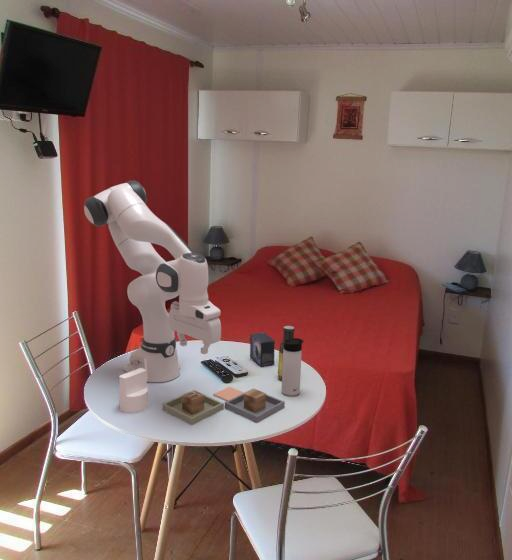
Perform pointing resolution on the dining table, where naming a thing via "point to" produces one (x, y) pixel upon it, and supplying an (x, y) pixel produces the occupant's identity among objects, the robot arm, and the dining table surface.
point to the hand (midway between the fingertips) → (193, 349)
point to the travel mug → (291, 367)
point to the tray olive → (209, 409)
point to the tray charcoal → (238, 408)
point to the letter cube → (193, 402)
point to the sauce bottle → (287, 335)
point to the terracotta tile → (228, 393)
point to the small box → (262, 349)
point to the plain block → (254, 400)
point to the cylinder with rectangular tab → (133, 391)
